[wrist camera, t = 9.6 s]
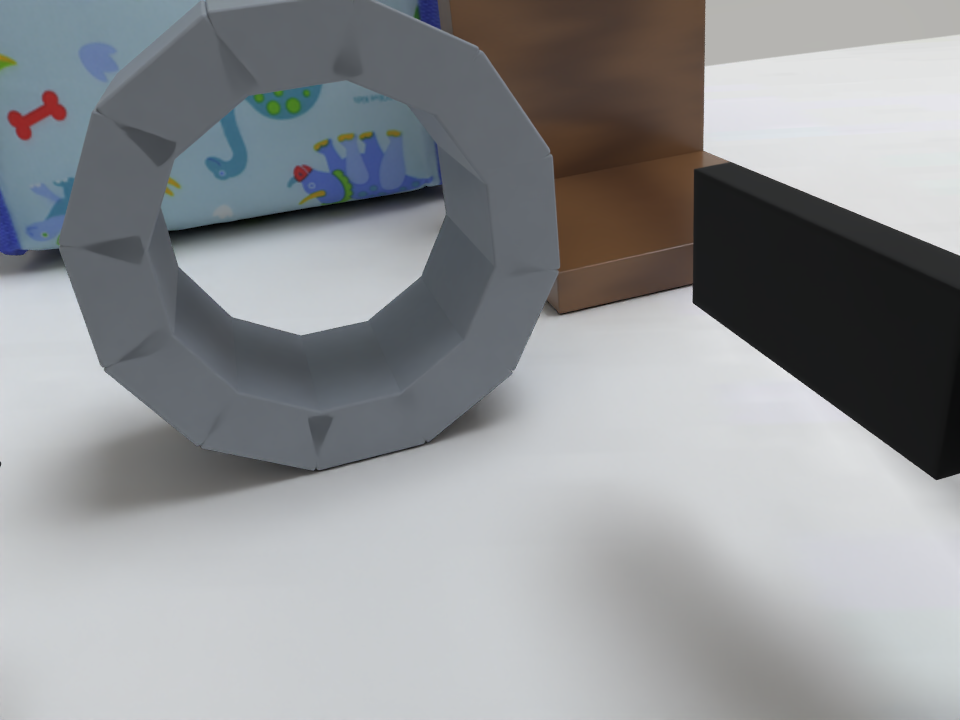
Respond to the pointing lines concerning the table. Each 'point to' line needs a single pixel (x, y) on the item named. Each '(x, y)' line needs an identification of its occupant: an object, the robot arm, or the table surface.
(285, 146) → the lunch bag
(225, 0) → the tape
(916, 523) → the table surface
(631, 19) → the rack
